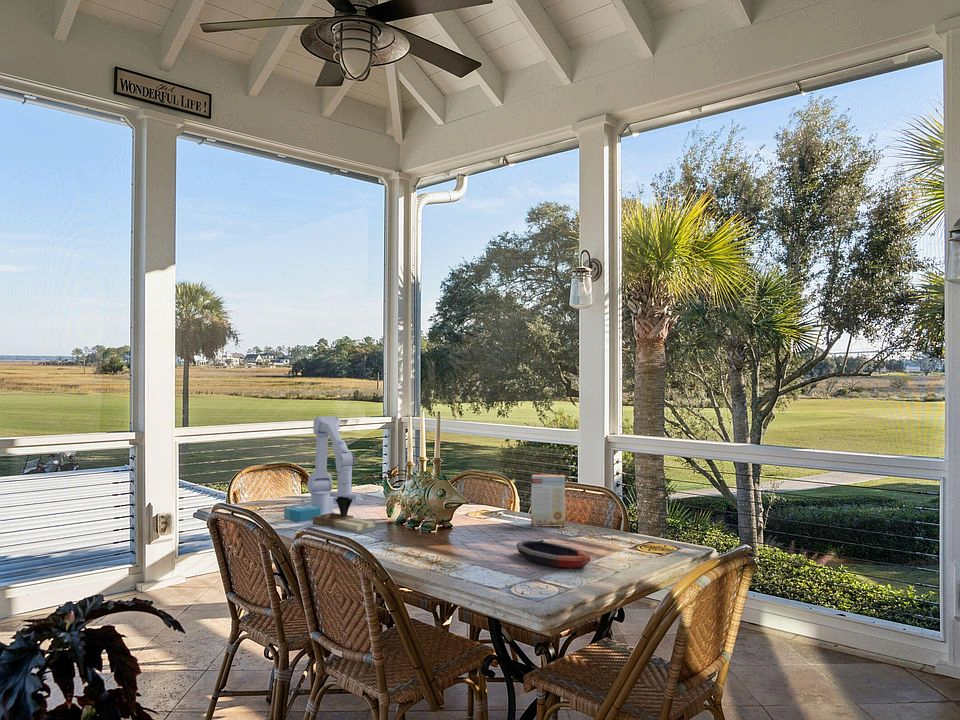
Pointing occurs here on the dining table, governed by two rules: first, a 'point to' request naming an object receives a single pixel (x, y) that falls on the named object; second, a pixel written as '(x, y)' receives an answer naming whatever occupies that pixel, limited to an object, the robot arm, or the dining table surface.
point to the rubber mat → (362, 529)
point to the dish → (552, 554)
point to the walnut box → (329, 519)
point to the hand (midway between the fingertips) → (343, 516)
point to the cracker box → (548, 500)
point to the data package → (301, 512)
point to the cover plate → (355, 524)
